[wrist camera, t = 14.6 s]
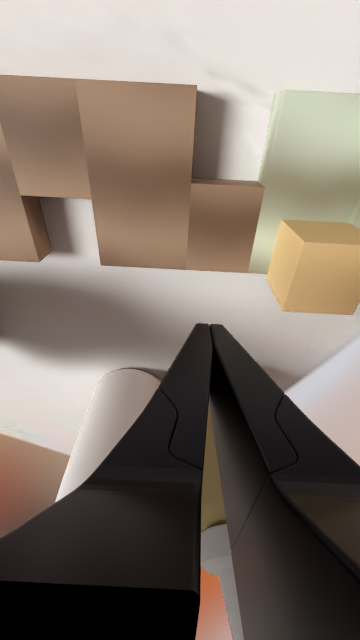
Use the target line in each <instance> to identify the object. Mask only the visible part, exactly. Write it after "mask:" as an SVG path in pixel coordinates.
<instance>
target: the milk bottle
mask: <svg viewBox="0 0 360 640" xmlns="http://www.w3.org/2000/svg"><path fill="white" fill-rule="evenodd" d="M160 383H161V381H160V380H159V379H157V378H156V377H155V376H153V375H151V374H149V373H147V372H144V371H141V370H135V369H120V370H116V371H113V372H111V373H108V374H107V375H106V376H104V377H103V378H102V379H101V380H100V381H99V382H98V384H97V386H96V388H95V391H94V393H93V396H92V399H91V401H90V404H89V407H88V410H87V412H86V415H85V418H84V421H83V423H82V426H81V429H80V432H79V434H78V437H77V440H76V443H75V446H74V448H73V451H72V454H71V457H70V460H69V463H68V466H67V468H66V471H65V474H64V477H63V480H62V483H61V486H60V489H59V492H58V495H57V499H56V501H55V502H57V501H58V500H60V499H61V498H63V497H64V496H66V495H67V494H69V493H71V492H72V491H73V490H75V489H76V488H77V487H78V486H80V485H81V484H82V483H83V482H84V481H85V480H86V479H87V478H88V477H89V476H90V475H91V474H92V473H93V472H94V471H95V470H96V468H97V467H98V466H99V465H100V464H101V462H102V461H103V460H104V459H105V458H106V456H107V455H108V454H109V453H110V451H111V450H112V449H113V448H114V447H115V445H116V444H117V443H118V442H119V440H120V439H121V438H122V437H123V436H124V434H125V433H126V432H127V431H128V429H129V428H130V427H131V426H132V424H133V423H134V422H135V420H136V419H137V418H138V417H139V415H140V414H141V413H142V411H143V410H144V408H145V407H146V405H147V404H148V402H149V401H150V399H151V398H152V396H153V394H154V393H155V391H156V389H157V388H158V386H159V385H160Z"/></svg>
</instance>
